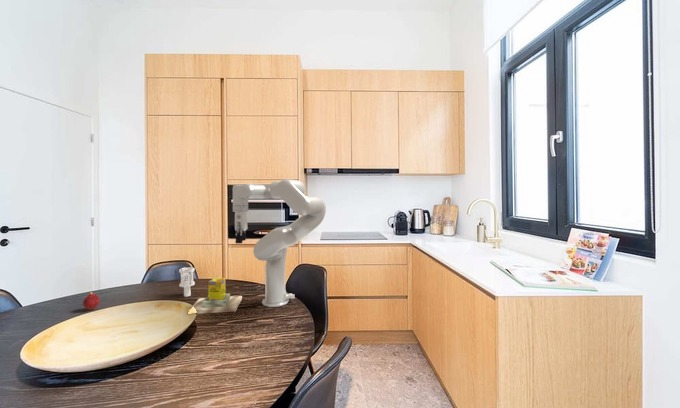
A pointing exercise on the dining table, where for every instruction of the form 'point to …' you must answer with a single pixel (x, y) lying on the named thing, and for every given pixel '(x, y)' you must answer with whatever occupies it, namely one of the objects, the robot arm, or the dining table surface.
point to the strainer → (186, 280)
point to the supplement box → (217, 289)
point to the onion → (91, 301)
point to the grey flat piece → (217, 304)
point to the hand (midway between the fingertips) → (240, 241)
